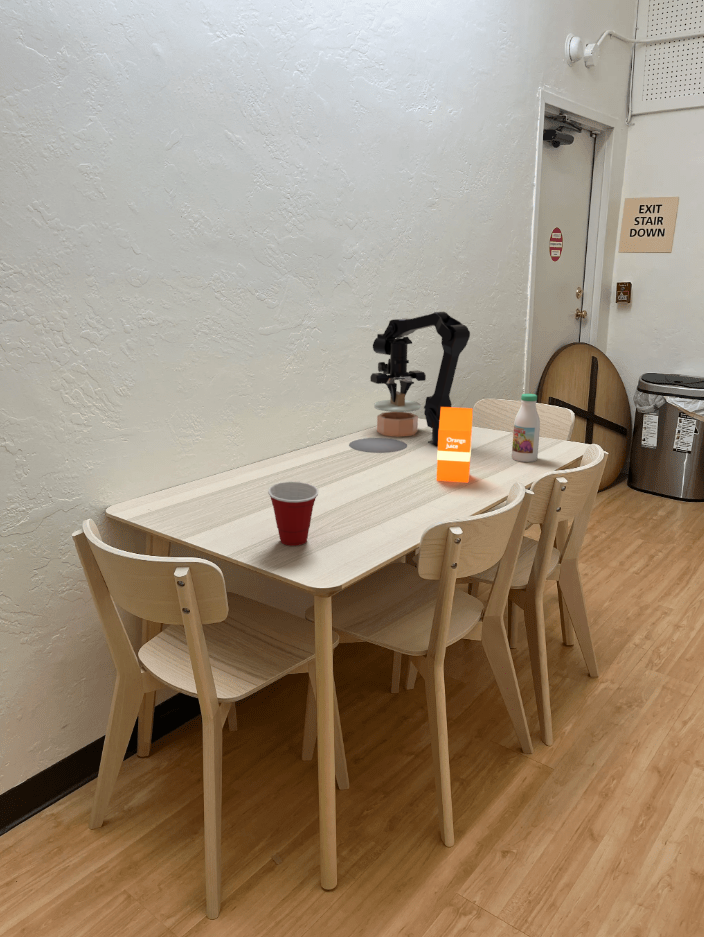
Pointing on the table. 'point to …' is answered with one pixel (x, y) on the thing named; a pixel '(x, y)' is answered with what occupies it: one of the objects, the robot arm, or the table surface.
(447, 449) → the orange juice
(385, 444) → the mat
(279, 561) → the table surface
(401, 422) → the bowl
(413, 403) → the lid
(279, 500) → the plastic cup
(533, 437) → the milk bottle
